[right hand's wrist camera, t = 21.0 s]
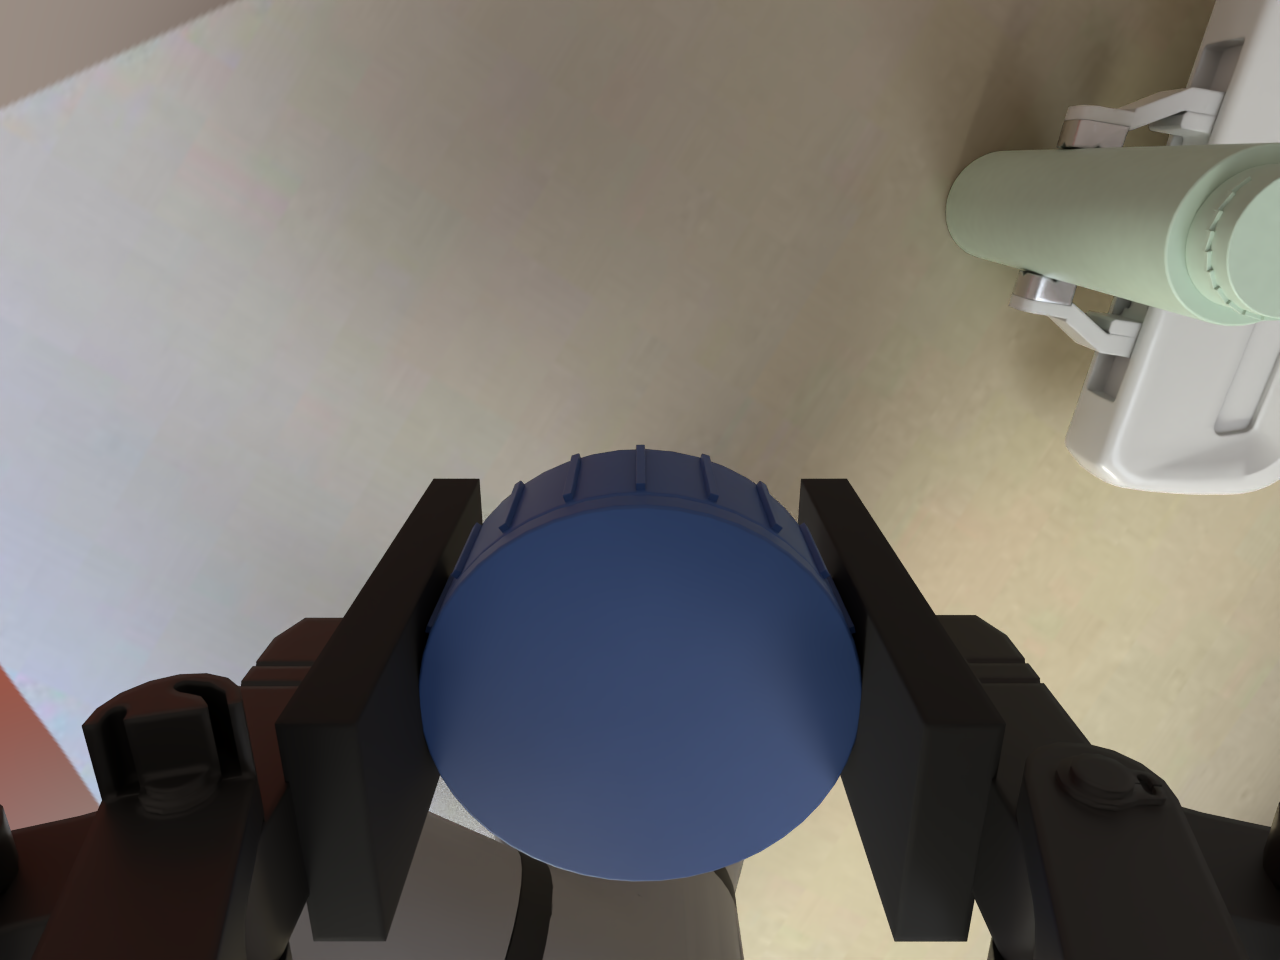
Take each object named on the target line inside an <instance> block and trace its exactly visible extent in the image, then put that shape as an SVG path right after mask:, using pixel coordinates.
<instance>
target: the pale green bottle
mask: <svg viewBox="0 0 1280 960" xmlns="http://www.w3.org/2000/svg"><path fill="white" fill-rule="evenodd" d="M946 222H947V227H948V230H949V232H950V234H951V236H952V238H953V240H954V241H955V242H956V244H957V245H958V246H959V247H960V248H961V249H963V250H964V251H965V252H967V253H969V254H970V255H973V256H975V257H978V258H982V259H985V260H989V261H993V262H996V263H1000V264H1003V265H1007V266H1010V267H1014V268H1017V269H1021V270H1024V271H1029V272H1032V273H1036V274H1040V275H1043V276H1046V277H1049V278H1053V279H1056V280H1060V281H1063V282H1067V283H1070V284H1074V285H1077V286H1081V287H1085V288H1088V289H1092V290H1095V291H1099V292H1102V293H1106V294H1109V295H1113V296H1116V297H1120V298H1123V299H1127V300H1131V301H1134V302H1138V303H1141V304H1145V305H1148V306H1152V307H1155V308H1159V309H1162V310H1166V311H1169V312H1173V313H1177V314H1180V315H1184V316H1187V317H1191V318H1194V319H1198V320H1201V321H1205V322H1208V323H1212V324H1217V325H1223V326H1242V325H1248V324H1253V323H1257V322H1260V321H1270V320H1280V143H1244V144H1211V145H1178V146H1146V147H1113V148H1082V149H1047V150H1014V151H997V152H992V153H989V154H986V155H984V156H982V157H980V158H978V159H976V160H975V161H973V162H972V163H970V164H969V165H968V166H967V167H966V168H965V169H964V170H963V171H962V172H961V173H960V174H959V176H958V177H957V178H956V180H955V182H954V183H953V185H952V187H951V190H950V192H949V195H948V198H947V203H946Z"/></svg>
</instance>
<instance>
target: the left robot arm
mask: <svg viewBox="0 0 1280 960" xmlns="http://www.w3.org/2000/svg"><path fill="white" fill-rule="evenodd" d="M1147 124H1149V129H1150V131H1156V132H1161V133H1166V134H1170V135H1169V138H1168V141H1167V144H1166V146H1178V145H1211V144H1244V143H1280V0H1216V2H1215V4H1214V7H1213V10H1212V13H1211V16H1210V19H1209V22H1208V25H1207V28H1206V31H1205V34H1204V37H1203V39H1202V42H1201V45H1200V48H1199V51H1198V54H1197V57H1196V60H1195V63H1194V66H1193V68H1192V71H1191V74H1190V77H1189V80H1188V83H1187V86H1186V88H1182V89H1174V90H1167V91H1159V92H1157V93H1154V94H1152V95H1149V96H1147V97H1144V98H1142V99H1139V100H1137V101H1134V102H1132V103H1129V104H1127V105H1125V106H1122V107H1120V108H1117V109H1114V108H1108V107H1102V106H1096V105H1076V106H1069V107H1068V110H1067V114H1066V117H1065V121H1064V124H1063V127H1062V130H1061V134H1060V137H1059V140H1058V144H1057V147H1058V148H1061V149H1082V148H1113V147H1123V144H1124V141H1125V138H1126V136H1127V133H1128V131H1131V130H1134V129H1136V128H1139V127H1142V126H1144V125H1147ZM1076 287H1077V285H1074V284H1070V283H1067V282H1063V281H1060V280H1056V279H1053V278H1049V277H1046V276H1043V275H1040V274H1036V273H1032V272H1029V271H1023V270H1020V271H1019V274H1018V277H1017V280H1016V283H1015V286H1014V289H1013V292H1012V294H1011V298H1010V302H1009V305H1008V306H1010V307H1013V308H1015V309H1018V310H1021V311H1025V312H1029V313H1034V314H1040V315H1046V316H1048V317H1049V318H1050V319H1051V320H1052V321H1053V322H1054V323H1055V324H1056V325H1057V326H1059V327H1060V328H1061V329H1062V330H1063V331H1064V332H1065V333H1066V334H1067V335H1068V336H1069V337H1070V338H1071V339H1072V340H1073V341H1074V342H1075V343H1078V344H1080V345H1082V346H1085V347H1087V348H1090V349H1092V350H1095V353H1094V356H1093V358H1092V361H1091V364H1090V367H1089V370H1088V373H1087V376H1086V379H1085V382H1084V385H1083V387H1082V390H1081V393H1080V396H1079V399H1078V402H1077V405H1076V408H1075V411H1074V414H1073V417H1072V419H1071V422H1070V425H1069V428H1068V430H1067V433H1066V437H1065V445H1066V448H1067V449H1068V451H1069V452H1070V453H1071V455H1072V456H1073V457H1074V459H1075V460H1076V461H1077V462H1078V463H1079V465H1080V466H1081V467H1083V468H1084V469H1085V470H1087V471H1088V472H1089V473H1091V474H1092V475H1094V476H1095V477H1097V478H1099V479H1101V480H1103V481H1104V482H1106V483H1109V484H1111V485H1114V486H1118V487H1122V488H1128V489H1134V490H1142V491H1151V492H1162V493H1175V494H1196V495H1231V494H1242V493H1248V492H1252V491H1256V490H1260V489H1262V488H1265V487H1267V486H1270V485H1272V484H1273V483H1275V482H1277V481H1278V480H1280V320H1270V321H1260V322H1257V323H1253V324H1248V325H1242V326H1223V325H1217V324H1212V323H1208V322H1205V321H1201V320H1198V319H1194V318H1191V317H1187V316H1184V315H1180V314H1177V313H1173V312H1169V311H1166V310H1162V309H1159V308H1155V307H1152V306H1148V305H1145V304H1141V303H1138V302H1134V301H1131V300H1127V299H1123V298H1120V297H1116V296H1114V298H1113V300H1112V303H1111V306H1110V309H1109V312H1108V313H1102V312H1095V311H1088V312H1087V313H1086V314H1085V313H1084V312H1083V311H1081V310H1080V309H1079V308H1078V307H1077V306H1076V305H1075V304H1074V303H1072V300H1073V297H1074V293H1075V290H1076Z"/></svg>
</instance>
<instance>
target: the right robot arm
mask: <svg viewBox="0 0 1280 960" xmlns="http://www.w3.org/2000/svg"><path fill="white" fill-rule="evenodd" d="M476 523H479V524H480V525H482V524H483V523H482V509H481V495H480V480H479V479H433V481H432V482H431V484H430V485H429V487H428V488H427V490H426V491H425V493H424V494H423V496H422V498H421V499H420V501H419V502H418V504H417V505H416V507H415V508H414V510H413V511H412V513H411V514H410V516H409V517H408V519H407V521H406V522H405V524H404V525H403V527H402V528H401V530H400V531H399V533H398V534H397V536H396V537H395V539H394V541H393V542H392V544H391V545H390V547H389V548H388V550H387V551H386V553H385V554H384V556H383V557H382V559H381V561H380V562H379V564H378V565H377V567H376V568H375V570H374V571H373V573H372V574H371V576H370V577H369V579H368V581H367V582H366V584H365V585H364V587H363V588H362V590H361V591H360V593H359V594H358V596H357V597H356V599H355V600H354V602H353V604H352V605H351V607H350V608H349V610H348V611H347V613H346V614H345V616H344V617H343V618H304V619H303V620H301V621H300V622H298V623H297V624H295V625H294V626H292V627H291V628H289V629H287V630H286V631H284V632H283V633H281V634H280V635H278V636H277V637H275V638H274V639H273V641H272V642H271V643H270V644H269V646H268V647H267V648H266V650H265V651H264V652H263V654H262V655H261V656H260V657H259V659H258V660H257V661H256V666H253V667H252V668H251V669H250V670H249V672H248V673H247V674H246V676H245V677H244V678H243V680H242V681H241V686H237V685H236V684H235V683H234V682H232V681H231V680H230V679H229V678H226V677H221V676H217V675H212V674H208V673H201V674H179V675H175V676H170V677H166V678H161V679H157V680H152V681H149V682H146V683H144V684H141V685H139V686H136V687H134V688H132V689H129V690H127V691H124V692H122V693H120V694H118V695H117V696H115V697H114V698H112V699H111V700H109V701H108V702H106V703H104V704H103V705H101V706H100V707H98V708H97V709H96V710H95V711H94V712H93V713H92V715H91V716H90V717H89V718H88V719H87V720H86V721H85V723H84V724H83V725H82V729H83V733H84V736H85V740H86V743H87V747H88V751H89V754H90V758H91V762H92V765H93V769H94V773H95V776H96V780H97V783H98V787H99V791H100V794H101V798H102V802H101V804H100V806H99V809H98V811H96V812H92V813H89V814H85V815H81V816H77V817H73V818H68V819H63V820H59V821H54V822H49V823H45V824H40V825H35V826H31V827H26V828H21V829H17V830H12V831H11V830H10V827H9V824H8V821H7V818H6V815H5V812H4V809H3V806H2V805H0V960H744V956H743V949H742V942H741V935H740V928H739V921H738V914H737V907H736V899H735V891H736V888H737V884H738V880H739V876H740V873H741V869H742V865H743V861H744V860H742V861H740V862H738V863H735V864H732V865H729V866H726V867H723V868H720V869H718V870H715V871H711V872H707V873H703V874H699V875H695V876H690V877H685V878H678V879H670V880H662V881H622V880H608V879H603V878H597V877H591V876H585V875H581V874H577V873H574V872H570V871H567V870H563V869H560V868H556V867H554V866H551V865H549V864H546V863H544V862H541V861H539V860H537V859H534V858H532V857H530V856H528V855H526V854H524V853H523V852H521V851H519V850H517V849H515V848H513V847H511V846H510V845H508V844H507V843H505V842H504V841H502V840H501V839H500V838H498V837H497V836H495V840H493V839H491V838H489V837H486V836H484V835H482V834H479V833H477V832H475V831H473V830H470V829H468V828H466V827H463V826H461V825H459V824H457V823H454V822H452V821H450V820H447V819H445V818H443V817H441V816H438V815H436V814H434V813H431V812H429V808H430V805H431V801H432V798H433V795H434V792H435V789H436V786H437V783H438V780H439V777H440V773H439V771H438V769H437V767H436V765H435V763H434V761H433V759H432V757H431V755H430V752H429V749H428V746H427V743H426V739H425V736H424V733H423V726H422V717H421V708H420V697H419V680H418V679H419V673H420V667H421V661H422V654H423V651H424V648H425V645H426V642H427V639H428V636H429V633H426V632H425V630H426V627H427V624H428V622H429V620H430V617H431V615H432V613H433V611H434V609H435V607H436V604H437V602H438V600H439V598H440V596H441V593H442V591H443V589H444V587H445V585H446V583H447V580H448V578H449V576H450V574H451V573H452V572H453V570H454V568H455V565H456V563H457V561H458V559H459V557H460V554H461V552H462V550H463V548H464V546H465V544H466V541H467V539H468V537H469V535H470V533H471V530H472V528H473V527H474V525H475V524H476ZM802 523H805V524H806V526H807V527H808V529H809V531H810V533H811V535H812V537H813V540H814V542H815V544H816V546H817V548H818V550H819V553H820V555H821V557H822V559H823V561H824V563H825V566H826V568H827V570H828V572H829V573H830V575H831V577H832V579H833V581H834V583H835V586H836V588H837V590H838V592H839V594H840V596H841V599H842V601H843V603H844V605H845V607H846V609H847V612H848V614H849V616H850V618H851V620H852V622H853V624H854V627H855V631H856V633H853V634H852V636H853V638H854V641H855V645H856V649H857V653H858V657H859V661H860V665H861V675H862V693H861V703H860V713H859V721H858V730H857V736H856V740H855V743H854V745H853V748H852V751H851V753H850V756H849V758H848V761H847V763H846V765H845V767H844V769H843V771H842V772H841V774H840V775H841V778H842V781H843V785H844V788H845V791H846V794H847V797H848V800H849V803H850V806H851V809H852V812H853V815H854V818H855V821H856V824H857V828H858V831H859V834H860V837H861V840H862V843H863V846H864V849H865V852H866V855H867V858H868V861H869V864H870V867H871V870H872V874H873V877H874V880H875V883H876V886H877V889H878V892H879V895H880V898H881V901H882V904H883V907H884V910H885V913H886V917H887V920H888V923H889V926H890V929H891V932H892V935H893V938H894V941H967V939H968V933H969V928H970V922H971V916H972V911H973V905H974V900H976V903H977V905H978V907H979V909H980V911H981V914H982V916H983V918H984V920H985V922H986V925H987V927H988V929H989V931H990V933H991V936H992V938H991V943H990V948H989V953H988V958H987V960H1280V802H1279V805H1278V808H1277V811H1276V814H1275V817H1274V820H1273V823H1272V826H1271V827H1267V826H1263V825H1258V824H1253V823H1249V822H1244V821H1239V820H1235V819H1230V818H1225V817H1221V816H1216V815H1211V814H1206V813H1202V812H1198V811H1195V810H1191V809H1187V808H1184V807H1181V805H1180V803H1179V800H1178V799H1177V797H1176V796H1175V795H1174V793H1173V792H1172V790H1171V789H1170V788H1169V786H1168V785H1167V784H1166V782H1165V781H1164V780H1163V779H1161V778H1160V777H1159V776H1157V775H1156V774H1155V773H1153V772H1152V771H1151V770H1149V769H1148V768H1147V767H1145V766H1144V765H1143V764H1141V763H1139V762H1137V761H1135V760H1133V759H1131V758H1129V757H1126V756H1124V755H1122V754H1120V753H1118V752H1116V751H1113V750H1110V749H1106V748H1102V747H1098V746H1094V745H1091V744H1090V742H1089V741H1088V740H1087V739H1086V737H1085V736H1084V735H1083V733H1082V732H1081V731H1080V729H1079V728H1078V727H1077V726H1076V724H1075V723H1074V722H1073V720H1072V719H1071V718H1070V717H1069V715H1068V714H1067V713H1066V711H1065V710H1064V709H1063V707H1062V706H1061V705H1060V704H1059V702H1058V701H1057V700H1056V698H1055V697H1054V696H1053V695H1052V693H1051V692H1050V691H1049V689H1048V688H1047V687H1046V685H1045V684H1044V683H1040V678H1039V676H1038V675H1037V674H1036V673H1035V671H1034V670H1033V669H1032V667H1031V666H1030V665H1029V664H1028V663H1025V658H1024V657H1023V656H1022V654H1021V653H1020V652H1019V651H1018V649H1017V648H1016V647H1015V645H1014V644H1013V643H1012V642H1011V640H1010V639H1009V638H1008V636H1007V635H1005V634H1004V633H1002V632H1001V631H999V630H998V629H996V628H995V627H993V626H992V625H990V624H989V623H987V622H985V621H984V620H982V619H981V618H979V617H978V616H976V615H935V613H934V612H933V610H932V609H931V607H930V606H929V604H928V603H927V601H926V600H925V598H924V597H923V595H922V593H921V592H920V590H919V589H918V587H917V586H916V584H915V583H914V581H913V580H912V578H911V577H910V575H909V574H908V572H907V570H906V569H905V567H904V566H903V564H902V563H901V561H900V560H899V558H898V557H897V555H896V554H895V552H894V550H893V549H892V547H891V546H890V544H889V543H888V541H887V540H886V538H885V537H884V535H883V534H882V532H881V530H880V529H879V527H878V526H877V524H876V523H875V521H874V520H873V518H872V517H871V515H870V514H869V512H868V511H867V509H866V507H865V506H864V504H863V503H862V501H861V500H860V498H859V497H858V495H857V494H856V492H855V491H854V489H853V487H852V486H851V484H850V483H849V481H848V480H847V479H801V488H800V502H799V516H798V524H799V525H801V524H802Z"/></svg>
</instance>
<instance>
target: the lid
mask: <svg viewBox="0 0 1280 960" xmlns="http://www.w3.org/2000/svg"><path fill="white" fill-rule="evenodd" d="M425 632H426V633H429V636H428V639H427V642H426V645H425V648H424V651H423V654H422V661H421V667H420V673H419V679H418V680H419V697H420V708H421V717H422V726H423V733H424V736H425V739H426V743H427V746H428V749H429V752H430V755H431V757H432V759H433V761H434V763H435V765H436V767H437V769H438V771H439V773H440V775H441V777H442V778H443V780H444V781H445V783H446V784H447V786H448V787H449V789H450V791H451V792H452V794H453V795H454V796H455V798H456V799H457V800H458V801H459V802H460V803H461V804H462V806H463V807H464V808H465V809H466V810H467V811H468V812H469V814H470V815H471V816H473V817H474V818H475V819H476V820H477V821H478V822H479V823H480V824H482V825H483V826H484V827H485V828H486V829H487V830H488V831H490V832H491V833H492V834H494V835H495V836H497V837H498V838H500V839H501V840H502V841H504V842H505V843H507V844H508V845H510V846H511V847H513V848H515V849H517V850H519V851H521V852H523V853H524V854H526V855H528V856H530V857H532V858H534V859H537V860H539V861H541V862H544V863H546V864H549V865H551V866H554V867H556V868H560V869H563V870H567V871H570V872H574V873H577V874H581V875H585V876H591V877H597V878H603V879H608V880H622V881H662V880H670V879H678V878H685V877H690V876H695V875H699V874H703V873H707V872H711V871H715V870H718V869H720V868H723V867H726V866H729V865H732V864H735V863H738V862H740V861H742V860H744V859H746V858H748V857H750V856H752V855H754V854H756V853H759V852H761V851H762V850H764V849H766V848H767V847H769V846H770V845H772V844H774V843H775V842H777V841H778V840H780V839H782V838H783V837H784V836H786V835H787V834H788V833H789V832H791V831H792V830H793V829H794V828H796V827H797V826H798V825H799V824H801V823H802V822H803V821H804V820H805V819H806V818H807V817H808V816H809V815H810V814H811V813H812V812H813V811H814V810H815V809H816V808H817V807H818V806H819V805H820V803H821V802H822V801H823V799H824V798H825V797H826V795H827V794H828V793H829V791H830V790H831V789H832V787H833V786H834V785H835V783H836V781H837V780H838V778H839V776H840V774H841V772H842V771H843V769H844V767H845V765H846V763H847V761H848V758H849V756H850V753H851V751H852V748H853V745H854V743H855V740H856V736H857V730H858V721H859V713H860V703H861V693H862V675H861V665H860V661H859V657H858V653H857V649H856V645H855V641H854V638H853V636H852V634H853V633H856V631H855V627H854V624H853V622H852V620H851V618H850V616H849V614H848V612H847V609H846V607H845V605H844V603H843V601H842V599H841V596H840V594H839V592H838V590H837V588H836V586H835V583H834V581H833V579H832V577H831V575H830V573H829V572H828V570H827V568H826V566H825V563H824V561H823V559H822V557H821V555H820V553H819V550H818V548H817V546H816V544H815V542H814V540H813V537H812V535H811V533H810V531H809V529H808V527H807V526H806V524H805V523H802V524H801V525H799V524H798V523H797V522H796V521H795V520H794V518H793V517H792V516H791V515H790V514H789V512H788V511H787V510H786V509H785V508H784V507H783V506H782V505H781V504H780V503H779V502H778V501H777V500H775V499H774V498H773V497H772V496H771V495H770V494H769V491H768V489H767V486H766V484H764V483H763V482H761V481H759V483H758V484H757V485H756V484H755V483H753V482H752V481H750V480H749V479H748V478H746V477H744V476H742V475H740V474H738V473H736V472H734V471H732V470H730V469H728V468H726V467H724V466H722V465H719V464H716V463H713V462H711V460H710V456H708V455H705V454H702V455H701V458H699V457H695V456H691V455H686V454H681V453H677V452H671V451H660V450H649V449H645V445H636V450H617V451H611V452H605V453H599V454H593V455H589V456H586V457H583V458H581V457H580V454H576V455H572V457H571V461H569V462H566V463H564V464H562V465H560V466H557V467H555V468H553V469H550V470H548V471H546V472H544V473H542V474H540V475H539V476H537V477H535V478H534V479H532V480H530V481H529V482H527V483H526V484H523V482H522V481H519V482H518V483H516V484H515V486H514V488H513V491H512V494H511V495H510V496H509V497H507V498H506V499H505V500H504V501H503V502H502V503H501V504H500V505H499V506H498V507H497V508H496V509H495V510H494V511H493V512H492V513H491V514H490V515H489V516H488V518H487V519H486V520H485V521H484V523H483V524H482V525H480V524H479V523H476V524H475V525H474V527H473V528H472V530H471V533H470V535H469V537H468V539H467V541H466V544H465V546H464V548H463V550H462V552H461V554H460V557H459V559H458V561H457V563H456V565H455V568H454V570H453V572H452V573H451V574H450V576H449V578H448V580H447V583H446V585H445V587H444V589H443V591H442V593H441V596H440V598H439V600H438V602H437V604H436V607H435V609H434V611H433V613H432V615H431V617H430V620H429V622H428V624H427V627H426V630H425Z"/></svg>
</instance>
